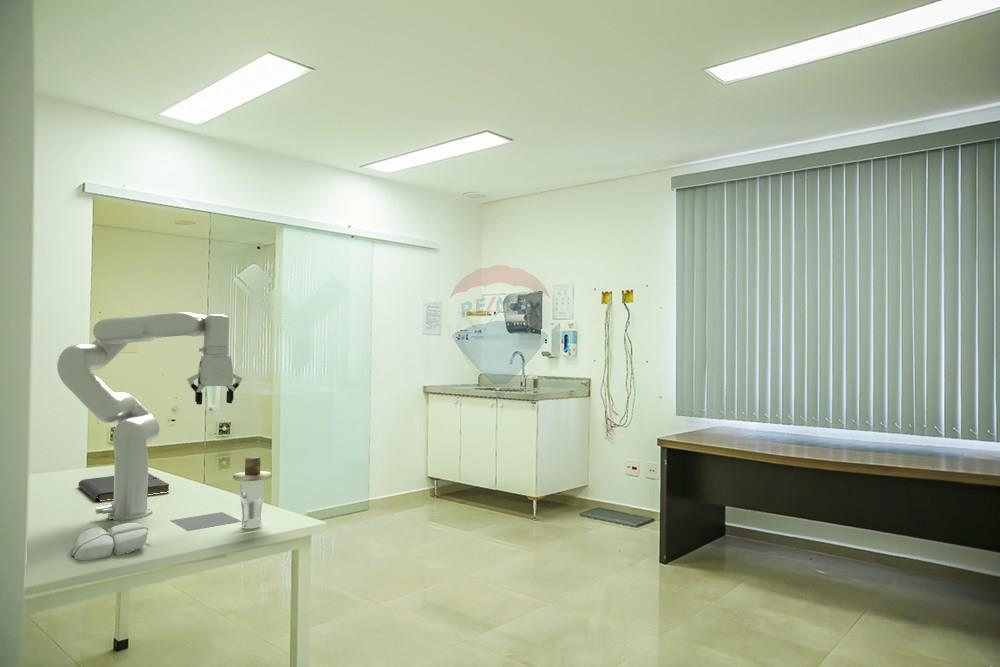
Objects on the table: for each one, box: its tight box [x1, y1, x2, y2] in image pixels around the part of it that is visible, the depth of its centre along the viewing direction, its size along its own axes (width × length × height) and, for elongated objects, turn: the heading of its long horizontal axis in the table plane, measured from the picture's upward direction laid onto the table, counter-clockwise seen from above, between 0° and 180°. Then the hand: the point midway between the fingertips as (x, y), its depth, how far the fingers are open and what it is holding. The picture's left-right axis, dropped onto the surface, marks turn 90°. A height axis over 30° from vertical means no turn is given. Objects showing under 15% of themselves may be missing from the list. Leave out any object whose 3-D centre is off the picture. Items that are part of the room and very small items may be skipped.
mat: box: [170, 511, 242, 532], centre depth 199 cm, size 16×16×1 cm
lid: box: [232, 456, 272, 482], centre depth 195 cm, size 11×11×6 cm
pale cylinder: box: [239, 480, 265, 529], centre depth 195 cm, size 7×7×15 cm
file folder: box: [77, 472, 170, 502], centre depth 244 cm, size 33×4×24 cm
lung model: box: [71, 522, 149, 561], centre depth 175 cm, size 7×17×25 cm
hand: (214, 403), depth 210 cm, fingers open, 9 cm apart
